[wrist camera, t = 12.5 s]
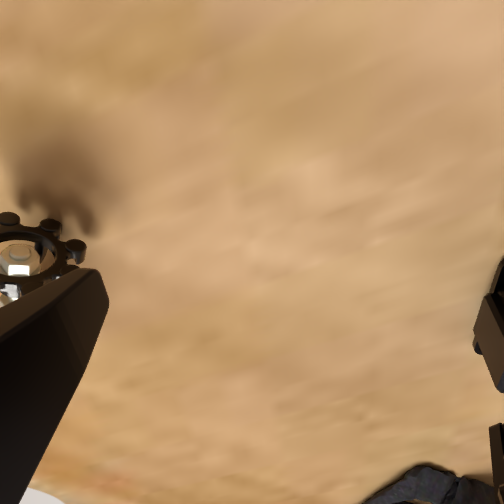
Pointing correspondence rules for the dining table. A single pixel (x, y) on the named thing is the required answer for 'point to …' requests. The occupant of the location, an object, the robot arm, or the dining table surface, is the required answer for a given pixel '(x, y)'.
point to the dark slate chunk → (435, 489)
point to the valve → (33, 256)
